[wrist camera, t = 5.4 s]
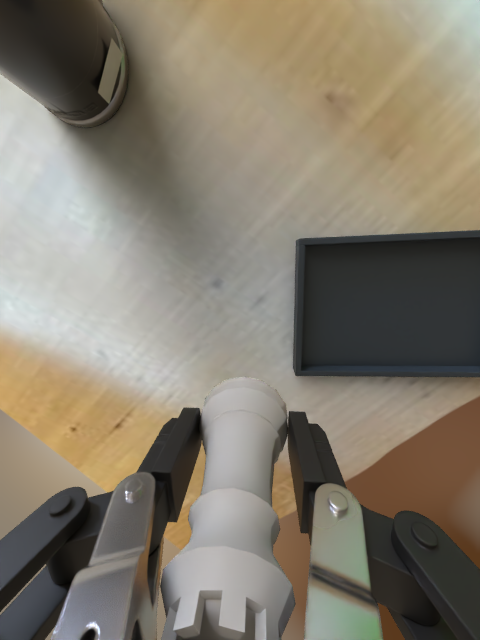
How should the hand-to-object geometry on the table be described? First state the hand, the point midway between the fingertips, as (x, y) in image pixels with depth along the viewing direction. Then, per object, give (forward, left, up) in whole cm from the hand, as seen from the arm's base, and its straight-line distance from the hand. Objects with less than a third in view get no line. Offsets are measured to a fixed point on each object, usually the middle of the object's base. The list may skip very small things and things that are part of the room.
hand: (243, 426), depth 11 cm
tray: (-3, +15, -15) cm, 21 cm away
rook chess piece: (0, 0, -1) cm, 1 cm away
